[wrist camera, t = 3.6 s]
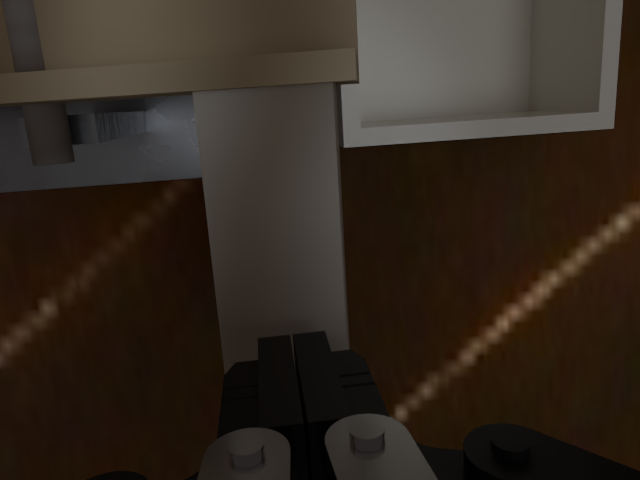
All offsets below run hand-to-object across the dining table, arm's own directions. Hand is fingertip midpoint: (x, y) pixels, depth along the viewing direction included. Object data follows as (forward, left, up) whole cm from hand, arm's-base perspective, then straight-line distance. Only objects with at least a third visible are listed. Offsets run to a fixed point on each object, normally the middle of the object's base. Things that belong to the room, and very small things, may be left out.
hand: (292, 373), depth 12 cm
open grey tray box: (-7, -9, -13) cm, 17 cm away
